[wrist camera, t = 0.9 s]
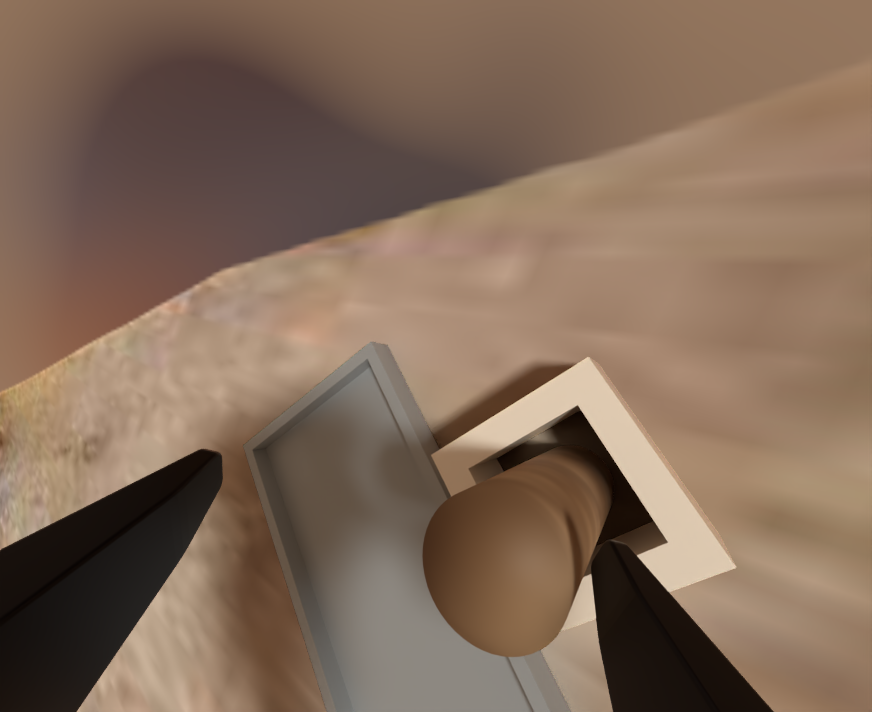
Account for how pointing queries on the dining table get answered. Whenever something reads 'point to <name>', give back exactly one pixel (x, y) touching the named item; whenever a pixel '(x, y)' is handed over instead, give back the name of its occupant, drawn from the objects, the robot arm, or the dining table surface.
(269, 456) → the tray
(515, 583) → the pin
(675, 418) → the dining table surface
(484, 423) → the square frame
